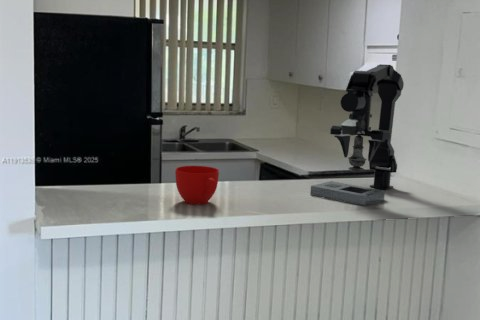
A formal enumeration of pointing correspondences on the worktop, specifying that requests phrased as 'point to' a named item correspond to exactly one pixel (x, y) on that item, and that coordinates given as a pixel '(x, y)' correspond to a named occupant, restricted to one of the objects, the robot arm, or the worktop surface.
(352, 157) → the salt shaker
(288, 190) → the worktop surface
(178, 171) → the ceramic cup
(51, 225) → the worktop surface
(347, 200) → the grey flat block
